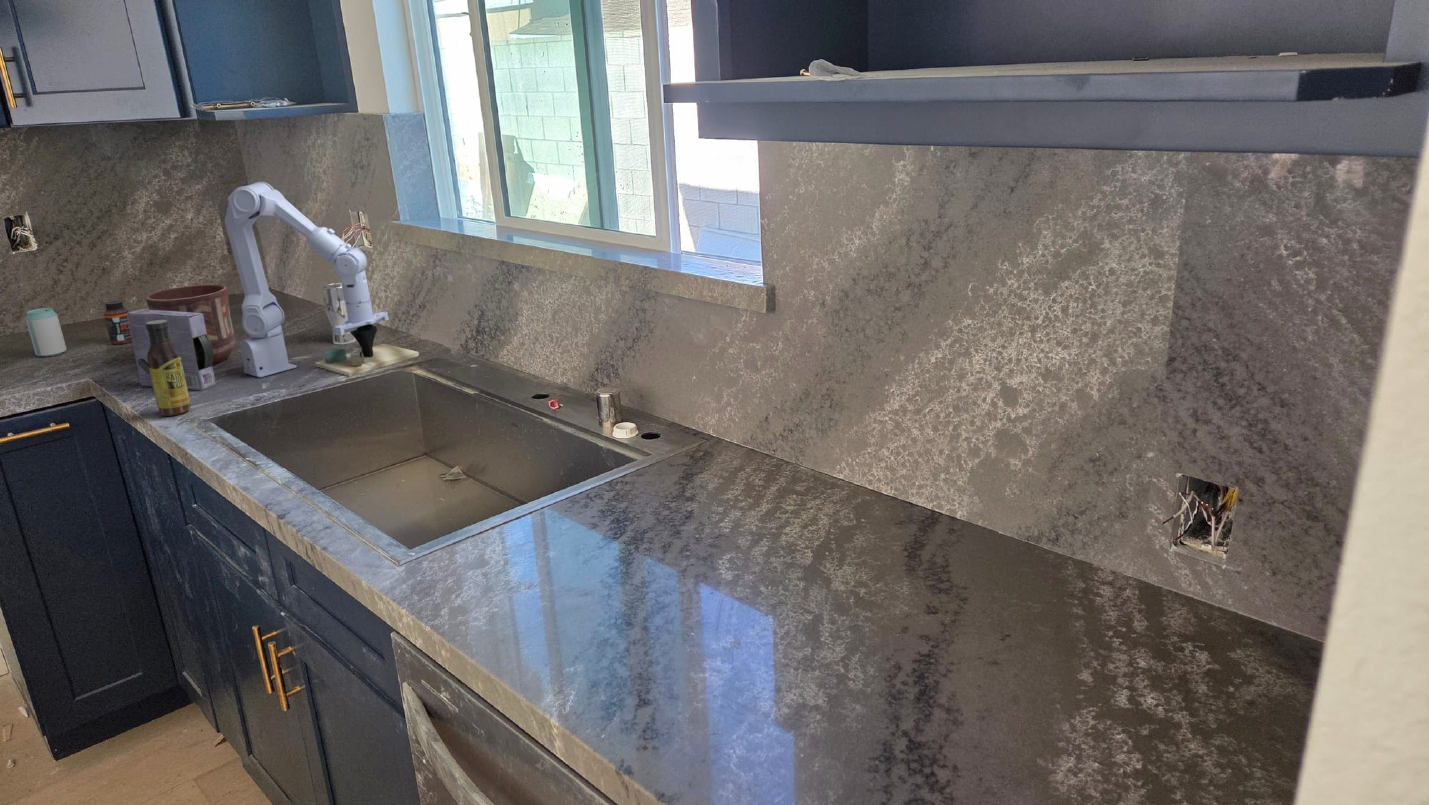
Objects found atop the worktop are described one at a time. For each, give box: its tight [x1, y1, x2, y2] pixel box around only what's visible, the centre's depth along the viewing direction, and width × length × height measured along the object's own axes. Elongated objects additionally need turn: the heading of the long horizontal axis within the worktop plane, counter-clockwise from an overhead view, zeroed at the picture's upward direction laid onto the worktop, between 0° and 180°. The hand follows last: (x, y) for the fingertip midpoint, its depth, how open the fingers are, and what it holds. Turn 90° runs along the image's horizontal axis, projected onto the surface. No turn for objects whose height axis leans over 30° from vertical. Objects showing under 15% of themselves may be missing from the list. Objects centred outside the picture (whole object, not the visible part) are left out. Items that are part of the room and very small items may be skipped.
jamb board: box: [314, 343, 420, 377], centre depth 244 cm, size 19×15×4 cm
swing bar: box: [350, 342, 365, 366], centre depth 240 cm, size 10×3×3 cm, turn 11°
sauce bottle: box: [146, 320, 191, 417], centre depth 211 cm, size 7×6×20 cm
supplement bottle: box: [103, 300, 133, 345], centre depth 273 cm, size 6×6×11 cm
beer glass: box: [321, 282, 358, 345], centre depth 261 cm, size 7×7×15 cm
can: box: [25, 307, 67, 357], centre depth 264 cm, size 7×7×12 cm
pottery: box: [145, 284, 236, 366], centre depth 249 cm, size 18×18×18 cm
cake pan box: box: [127, 308, 217, 392], centre depth 230 cm, size 19×5×18 cm, turn 72°
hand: (368, 356), depth 240 cm, fingers closed, pressing on swing bar
